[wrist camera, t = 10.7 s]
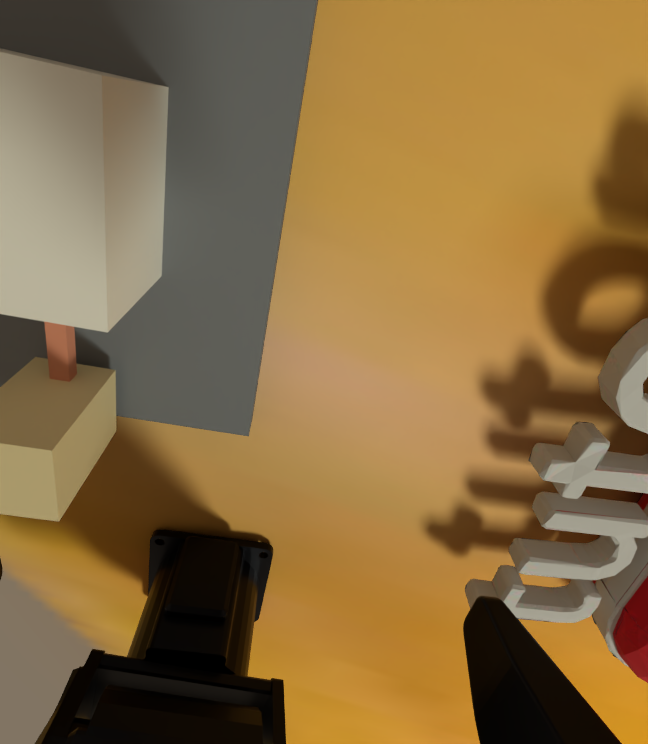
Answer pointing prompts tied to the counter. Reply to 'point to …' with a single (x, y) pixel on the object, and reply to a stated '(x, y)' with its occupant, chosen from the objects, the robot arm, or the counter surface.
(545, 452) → the word lettering
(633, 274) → the counter surface
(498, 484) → the counter surface
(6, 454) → the rod-linked cube pair
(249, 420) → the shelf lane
